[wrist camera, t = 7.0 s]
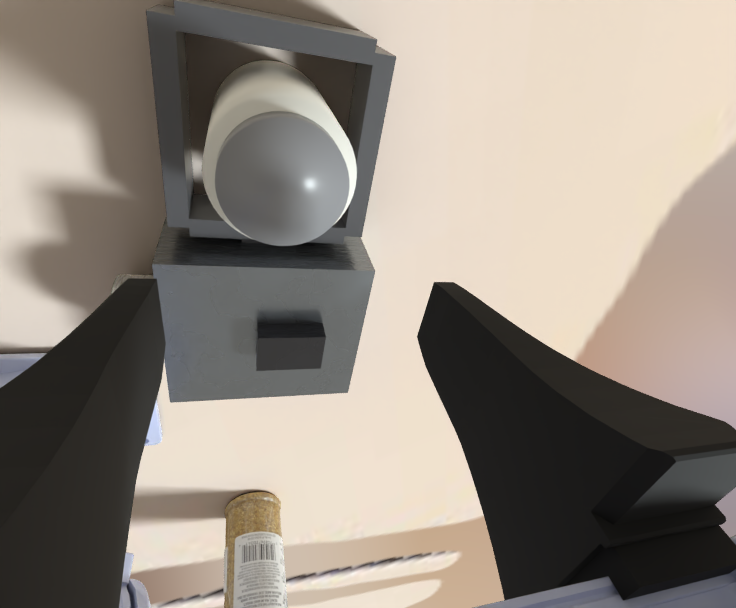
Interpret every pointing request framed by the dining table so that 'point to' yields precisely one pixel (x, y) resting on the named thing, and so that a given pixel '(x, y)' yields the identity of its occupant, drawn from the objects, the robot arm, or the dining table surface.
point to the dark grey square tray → (270, 32)
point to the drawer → (258, 315)
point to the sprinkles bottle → (254, 553)
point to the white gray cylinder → (276, 156)
